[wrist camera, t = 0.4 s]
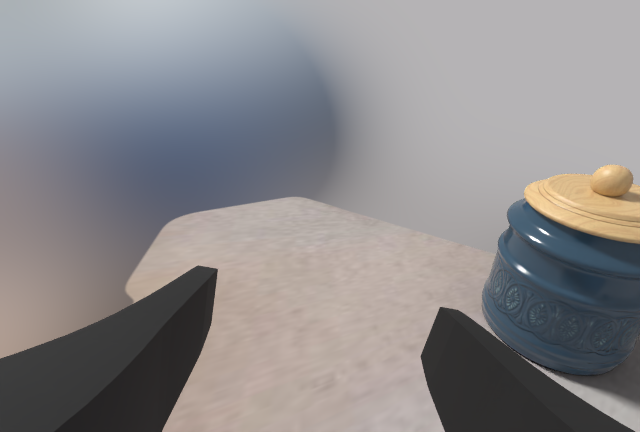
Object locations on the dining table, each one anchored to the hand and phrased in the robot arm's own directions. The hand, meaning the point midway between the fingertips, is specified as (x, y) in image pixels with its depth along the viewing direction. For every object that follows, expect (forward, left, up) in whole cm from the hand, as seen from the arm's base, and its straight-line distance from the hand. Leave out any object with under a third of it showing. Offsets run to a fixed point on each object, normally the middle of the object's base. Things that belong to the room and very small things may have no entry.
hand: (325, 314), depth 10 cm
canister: (+16, -24, -19) cm, 35 cm away
